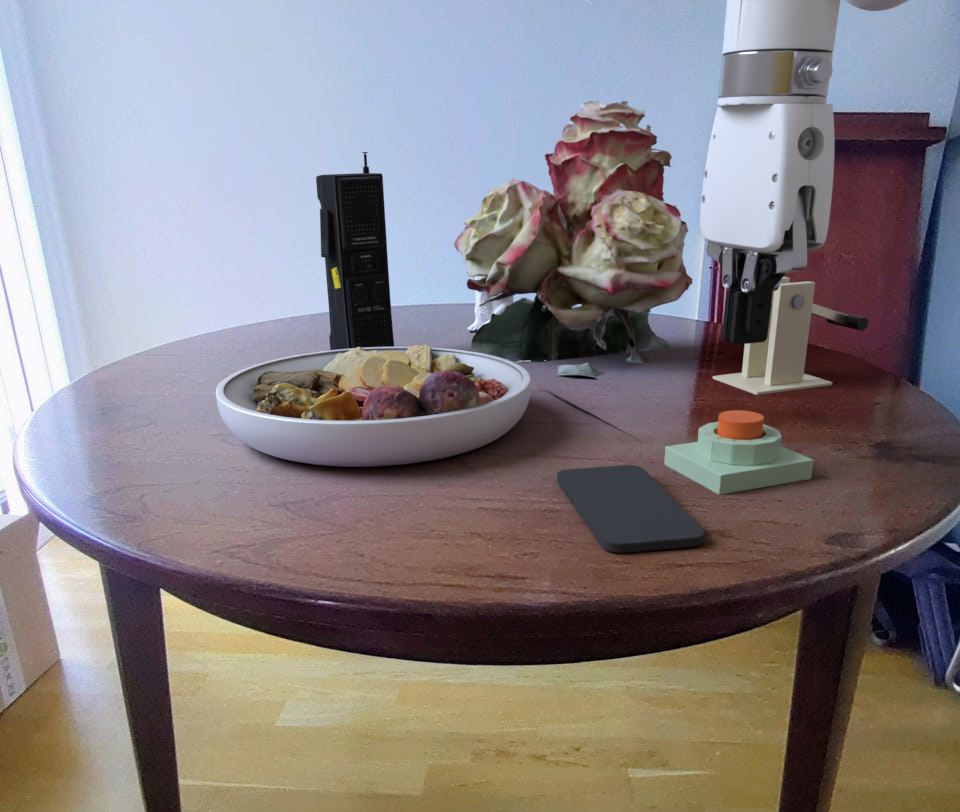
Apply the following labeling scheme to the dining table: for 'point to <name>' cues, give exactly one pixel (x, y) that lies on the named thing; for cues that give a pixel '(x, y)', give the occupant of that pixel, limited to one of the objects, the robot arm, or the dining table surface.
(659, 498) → the phone
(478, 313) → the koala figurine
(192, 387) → the dining table surface
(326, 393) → the bowl
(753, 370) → the bracket
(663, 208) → the rose bouquet
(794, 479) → the button block
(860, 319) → the lever
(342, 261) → the portable radio
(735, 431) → the button
